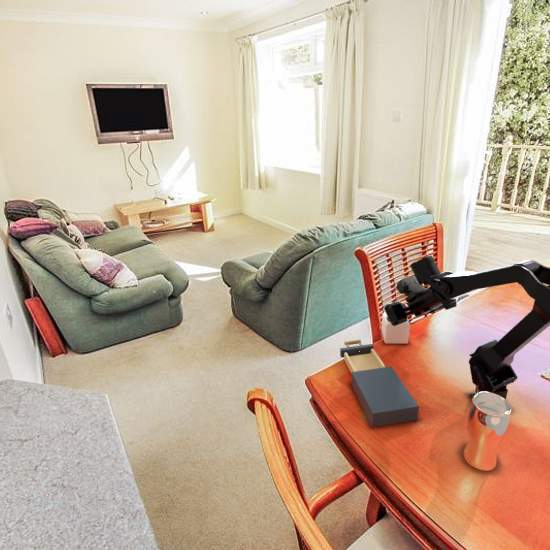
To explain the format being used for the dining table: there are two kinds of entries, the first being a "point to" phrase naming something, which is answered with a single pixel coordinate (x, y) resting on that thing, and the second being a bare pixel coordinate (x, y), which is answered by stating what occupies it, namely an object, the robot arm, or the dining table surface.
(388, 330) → the medicine bottle
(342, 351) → the drawer
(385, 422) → the cabinet
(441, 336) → the dining table surface
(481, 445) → the beer glass
